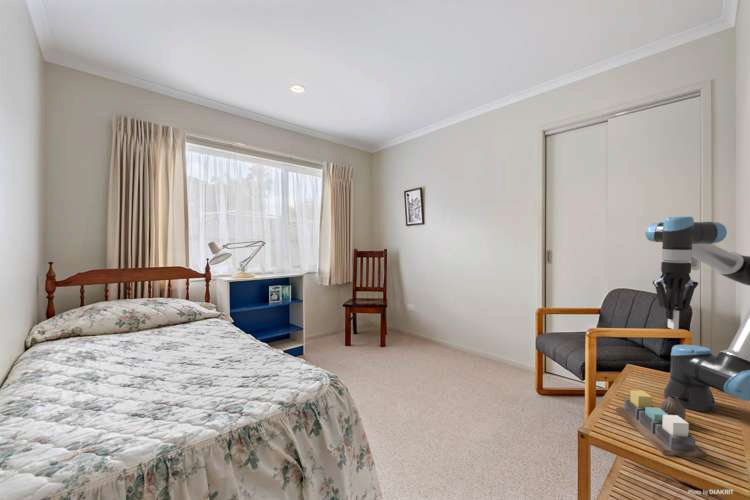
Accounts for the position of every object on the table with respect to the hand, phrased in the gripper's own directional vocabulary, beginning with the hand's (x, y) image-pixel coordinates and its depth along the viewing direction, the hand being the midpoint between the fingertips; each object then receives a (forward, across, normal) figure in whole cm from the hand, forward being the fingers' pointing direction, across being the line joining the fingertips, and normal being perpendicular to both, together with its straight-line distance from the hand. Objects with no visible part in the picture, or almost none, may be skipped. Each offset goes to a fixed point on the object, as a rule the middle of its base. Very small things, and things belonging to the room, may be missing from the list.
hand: (672, 328), depth 112 cm
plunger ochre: (+32, +6, -5) cm, 33 cm away
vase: (+37, -5, -5) cm, 37 cm away
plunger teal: (+34, +6, +3) cm, 34 cm away
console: (+36, +6, +3) cm, 37 cm away
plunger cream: (+32, +6, +11) cm, 34 cm away
